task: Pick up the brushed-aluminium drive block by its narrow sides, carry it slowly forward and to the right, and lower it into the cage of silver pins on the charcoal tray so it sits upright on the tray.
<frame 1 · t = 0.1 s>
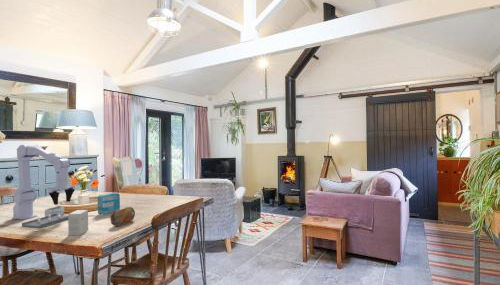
hand: (62, 202, 157), 10 cm above the table, tool pointing down, fingers open, 7 cm apart
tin: (123, 224, 149), on the table
blue box: (109, 213, 173), on the table
drive: (54, 216, 167), on the table
small box: (78, 233, 135), on the table
pin tray: (49, 221, 154), on the table
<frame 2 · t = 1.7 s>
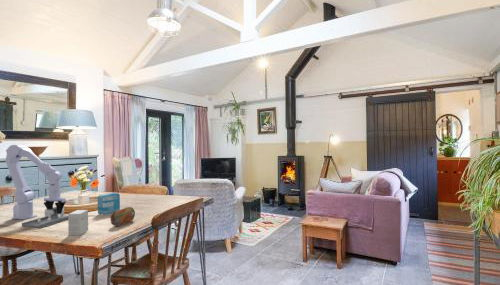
hand: (54, 213, 167), 2 cm above the table, tool pointing down, fingers open, 7 cm apart
nothing on the table moved.
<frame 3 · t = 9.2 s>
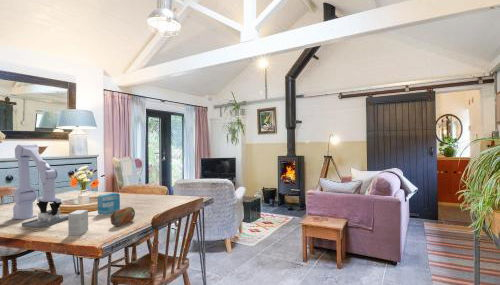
hand: (49, 214, 154), 4 cm above the table, tool pointing down, fingers open, 7 cm apart
drive: (49, 220, 154), point 1 cm above the table, touching pin tray
everything else where it was.
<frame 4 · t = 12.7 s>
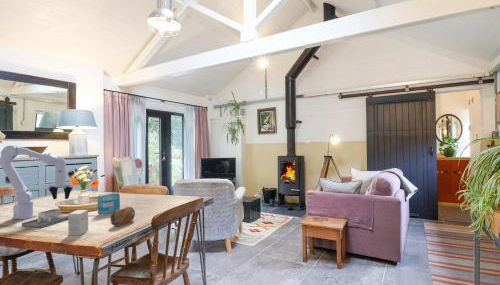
hand: (60, 198, 172), 9 cm above the table, tool pointing down, fingers open, 7 cm apart
nothing on the table moved.
at the end: drive 0.0 cm off-centre on the pin tray, point 1.0 cm above the pin tray's base; drive tilted 0°; the gripper is holding nothing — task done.
